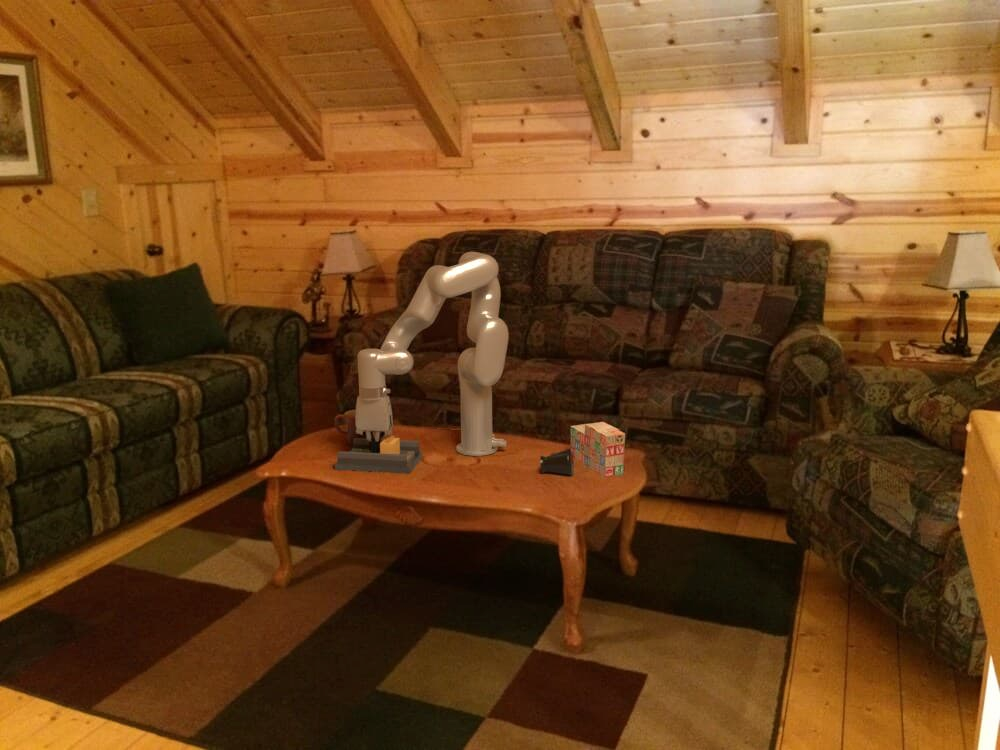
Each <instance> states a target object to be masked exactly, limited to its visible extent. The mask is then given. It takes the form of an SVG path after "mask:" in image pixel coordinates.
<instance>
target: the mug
mask: <svg viewBox="0 0 1000 750" xmlns="http://www.w3.org/2000/svg"><path fill="white" fill-rule="evenodd" d="M355 416H356V409H351V410H347V411H345V412H344V414H338V415H336V416H335V418H334V427H335V428H336V430H337V432H339V433H340V434H341V435H344V436H347V441H348V442H347V443H348V444H349V446H352V447H353V439H354V438H364V439H367V438H366V437H365V436H364V435H362V434H358V433H356V429H357V428H356V422H355ZM339 419H344V420H345V421H346V425H347V427H346V430H343V429H342V428H341V427H340V425H339Z"/></svg>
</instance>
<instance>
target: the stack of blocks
mask: <svg viewBox="0 0 1000 750" xmlns="http://www.w3.org/2000/svg"><path fill="white" fill-rule="evenodd" d="M569 430H570V432H569V433H570V435H569V436H570V449H571V451H572V454H573V458H575V459H576V460H577V461H579V462H581V464H583V465H585V466H587V468H590V469H591V470H593V471H594V472H596V473H597V474H599V475H600V476H602V477H603V478H608V477H614V476H616V477H617V476H621V475H624V474H625V473H624V472H625V471H624V468H625V452H626V451H625V449H626V448H625V447H626V444H625V443H626V433H625V432H623V431H622V430H620V429H618V428H617V427H614V426H613V425H611V424H608V423H607V422H605V421H599V422H594V423H584V424H582V423H581V424H577V425H576V424H575V425H570V429H569Z"/></svg>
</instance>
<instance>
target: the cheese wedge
mask: <svg viewBox="0 0 1000 750" xmlns="http://www.w3.org/2000/svg"><path fill="white" fill-rule="evenodd" d="M400 440H401V439H400V437H395V435H388V437H387V436H386V437H385V438H384V440H383V441H382V442H381V443H380V453H383V454H400Z"/></svg>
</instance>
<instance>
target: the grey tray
mask: <svg viewBox="0 0 1000 750" xmlns="http://www.w3.org/2000/svg"><path fill="white" fill-rule="evenodd" d="M384 439H385V438H384ZM384 439H383V438H381V439H380V441H381V442H382V441H383V440H384ZM352 448H364V449H369V441H368V440H367V439H364V438H354V439H353V446H352ZM400 450H406V451H415V453H418V452H420V441H419V440H407V439H405V440H403V439H402V440H401V439H400ZM337 461H338V464H351V465H370V466H390V467H406V466H407V455H403V454H383V453H362V452H348V451H341V450H340V451H338V452H337Z"/></svg>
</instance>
